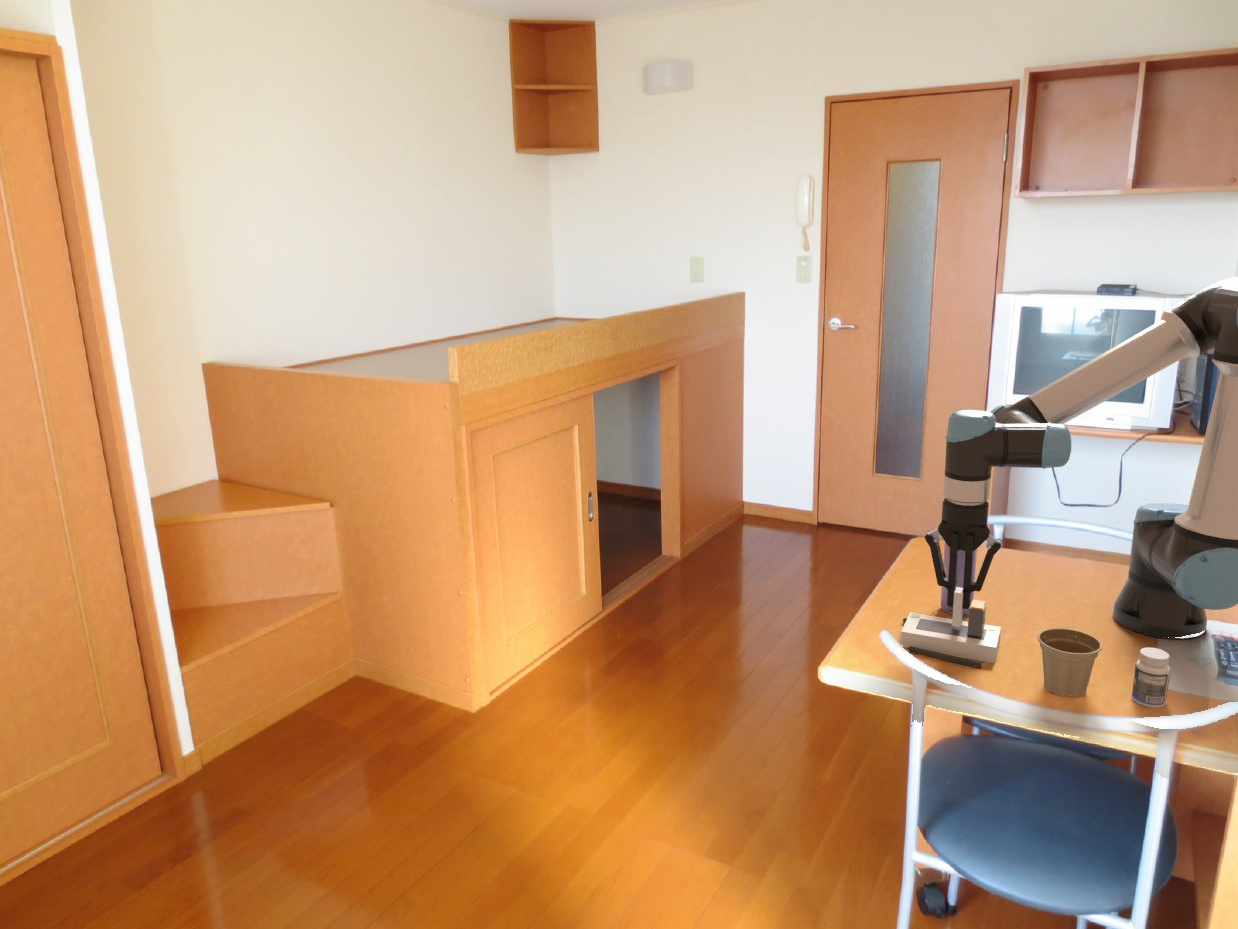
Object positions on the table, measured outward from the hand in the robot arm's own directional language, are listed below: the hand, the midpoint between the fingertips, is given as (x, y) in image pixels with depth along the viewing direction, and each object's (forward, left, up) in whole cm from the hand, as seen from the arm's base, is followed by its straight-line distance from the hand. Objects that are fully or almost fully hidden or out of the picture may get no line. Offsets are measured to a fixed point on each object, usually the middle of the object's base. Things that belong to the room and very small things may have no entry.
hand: (957, 623), depth 160 cm
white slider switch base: (+1, 0, -4) cm, 4 cm away
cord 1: (+1, +7, -4) cm, 8 cm away
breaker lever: (-3, 0, -1) cm, 3 cm away
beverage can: (+2, -16, -5) cm, 17 cm away
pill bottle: (-30, +8, -5) cm, 31 cm away
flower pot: (-18, +9, -5) cm, 21 cm away
